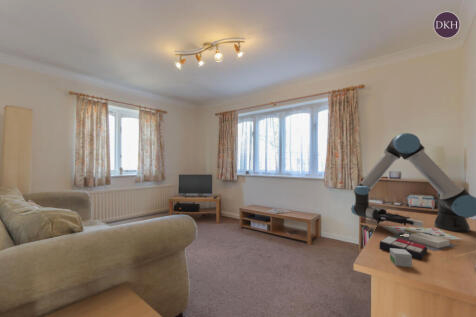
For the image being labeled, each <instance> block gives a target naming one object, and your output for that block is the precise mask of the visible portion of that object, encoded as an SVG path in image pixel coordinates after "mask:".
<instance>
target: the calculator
mask: <svg viewBox="0 0 476 317" xmlns="http://www.w3.org/2000/svg"><path fill="white" fill-rule="evenodd" d="M389 236H390V235H388V236H386V237H385V238H383V239H382V240H380V241H379V249H380V250H381V251H385V252H389V253H390V248H395V249H405V250H406V251H407V252H409V253H410V254H411V255H412V259H416V260H419V261H422V260H423V259H424V256H425V255H426V254H427V253H428V249H427V247H426V246H424V245H420V244H417V243H413V242H409V241H406V240H402V239H397V238H393V237H389Z"/></svg>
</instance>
